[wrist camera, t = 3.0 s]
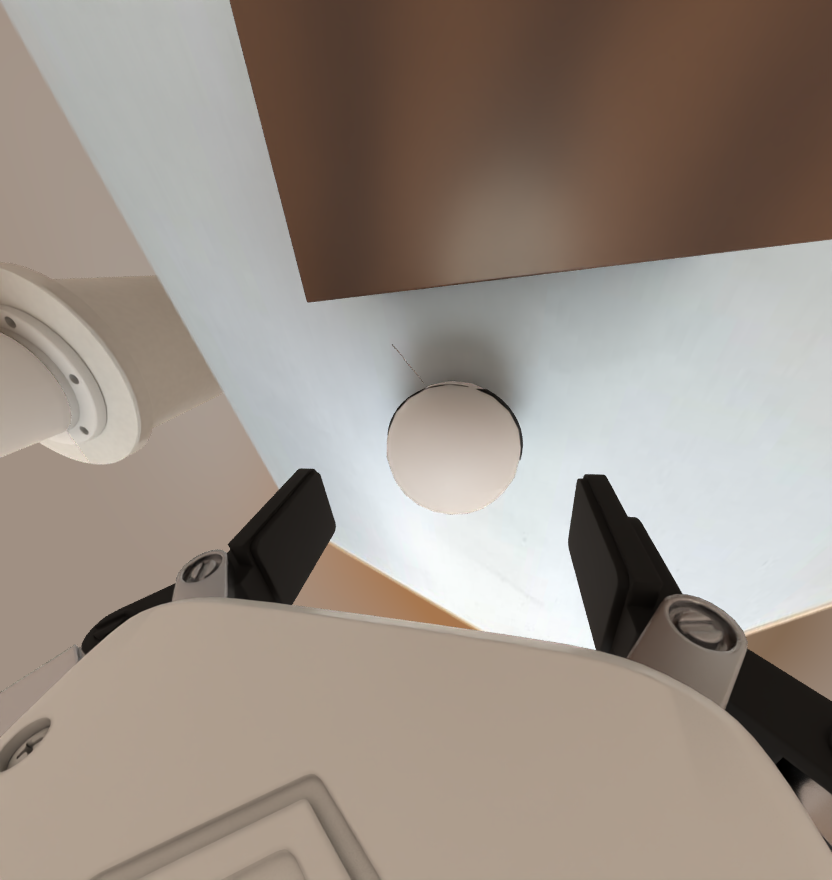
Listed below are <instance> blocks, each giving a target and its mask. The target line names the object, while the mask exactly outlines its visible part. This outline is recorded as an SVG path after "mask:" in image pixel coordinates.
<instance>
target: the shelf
mask: <svg viewBox="0 0 832 880" xmlns="http://www.w3.org/2000/svg"><path fill="white" fill-rule="evenodd" d="M230 4H231V8H232V12H233V16H234V20H235V24H236V28H237V32H238V35H239V39H240V43H241V47H242V51H243V55H244V59H245V63H246V67H247V70H248V74H249V78H250V82H251V86H252V90H253V94H254V98H255V102H256V105H257V109H258V113H259V117H260V121H261V125H262V129H263V133H264V137H265V140H266V144H267V148H268V152H269V156H270V160H271V164H272V168H273V172H274V175H275V179H276V183H277V187H278V191H279V195H280V199H281V203H282V207H283V210H284V214H285V218H286V222H287V226H288V230H289V234H290V238H291V242H292V246H293V249H294V253H295V257H296V261H297V265H298V269H299V273H300V277H301V281H302V284H303V288H304V292H305V296H306V300H307V302H308V303H309V302H317V301H326V300H334V299H342V298H351V297H359V296H367V295H375V294H384V293H392V292H400V291H409V290H417V289H425V288H433V287H442V286H450V285H458V284H467V283H475V282H483V281H491V280H500V279H508V278H516V277H525V276H533V275H541V274H549V273H558V272H566V271H574V270H583V269H591V268H599V267H607V266H616V265H624V264H632V263H641V262H649V261H657V260H666V259H674V258H682V257H690V256H699V255H707V254H715V253H724V252H732V251H740V250H748V249H757V248H765V247H773V246H782V245H790V244H798V243H806V242H815V241H823V240H831V239H832V0H230Z"/></svg>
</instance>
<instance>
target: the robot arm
mask: <svg viewBox="0 0 832 880" xmlns="http://www.w3.org/2000/svg"><path fill="white" fill-rule="evenodd" d="M106 420H107V413H106V405H105V401H104V397H103V395H102V392H101V390H100V388H99V385H98V383H97V382H96V380H95V378H94V376H93V375H92V373H91V371H90V370H89V369H88V367H87V366H86V364H85V363H84V362H83V360H82V359H81V358H80V357H79V355H78V354H77V353H76V352H75V351H74V350H73V349H72V348H71V346H70V345H69V344H68V343H66V342H65V341H64V340H63V339H62V338H61V337H60V336H59V335H58V334H57V333H56V332H54V331H53V330H52V329H50V328H49V327H48V326H46V325H45V324H44V323H42V322H41V321H39V320H37V319H36V318H34V317H32V316H30V315H29V314H27V313H25V312H23V311H20V310H18V309H16V308H13V307H10V306H6V305H2V304H0V457H3V456H5V455H8V454H10V453H13V452H15V451H17V450H20V449H23V448H25V447H28V446H30V445H33V444H35V443H38V442H40V441H43V440H45V439H49V440H52V441H55V442H59V443H63V444H71V445H75V444H82V443H85V442H87V441H89V440H92V439H94V438H96V437H97V436H99V435H100V434H101V433H102V431H103V430H104V428H105V424H106ZM335 528H336V524H335V520H334V517H333V514H332V511H331V508H330V504H329V501H328V498H327V495H326V492H325V488H324V485H323V482H322V479H321V476H320V474H319V473H317V472H316V470H315V469H298V470H297V471H296V472H295V473H294V474H293V475H292V477H291V478H290V479H289V480H288V481H287V482H286V483H285V484H284V485H283V486H282V487H281V488H280V489H279V490H278V491H277V492H276V494H275V495H274V496H273V497H272V498H271V499H270V500H269V501H268V502H267V503H266V504H265V505H264V507H262V508H261V510H260V511H259V512H258V513H257V514H256V515H255V516H254V517H253V518H252V519H251V520H250V521H249V522H248V523H247V525H246V526H245V527H244V528H243V529H242V530H241V531H240V532H239V533H238V534H237V535H236V536H235V537H234V539H232V540H231V541H230V543H229V544H228V545H229V547H230V551H229V552H228V553H226V552H224V551H222V550H211V551H208V552H204V553H202V554H200V555H198V556H196V557H195V558H193V559H192V560H190V561H189V562H188V563H187V564H186V565H184V566H183V568H182V569H181V570H180V572H179V573H178V576H177V578H176V583H175V584H173V585H171V586H168V587H166V588H164V589H162V590H160V591H158V592H156V593H153V594H152V595H149V596H147V597H145V598H143V599H140V600H138V601H136V602H134V603H132V604H130V605H128V606H125V607H123V608H121V609H119V610H117V611H115V612H113V613H111V614H109V615H108V616H106V617H105V618H103V619H102V620H101V621H100V622H99V623H98V624H97V625H95V626H94V627H93V628H92V629H91V630H90V632H89V633H88V634H87V635H86V637H85V639H84V641H83V643H82V646H81V647H77V646H76V645H73V646H72V647H70V648H69V649H67V650H66V651H64V652H63V653H61V654H59V655H58V656H56V657H55V658H53V659H51V660H50V661H48V662H47V663H45V664H44V665H42V666H41V667H39V668H37V669H36V670H34V671H33V672H31V673H30V674H28V675H26V676H25V677H23V678H22V679H20V680H19V681H17V682H15V683H14V684H12V685H11V686H9V687H8V688H6V689H5V690H3V691H1V692H0V880H832V701H830V700H829V699H827V698H825V697H824V696H822V695H821V694H819V693H817V692H816V691H814V690H813V689H811V688H809V687H808V686H806V685H805V684H803V683H802V682H800V681H798V680H797V679H795V678H793V677H792V676H790V675H789V674H787V673H786V672H784V671H782V670H781V669H779V668H778V667H776V666H774V665H773V664H771V663H770V662H768V661H766V660H765V659H763V658H762V657H760V656H758V655H757V654H755V653H754V652H752V651H750V650H748V649H747V639H746V637H745V634H744V632H743V630H742V629H741V628H740V626H739V625H738V624H737V622H736V621H735V620H734V619H733V618H732V617H730V616H729V615H728V614H727V613H726V612H725V611H723V610H722V609H720V608H719V607H717V606H715V605H714V604H712V603H710V602H708V601H706V600H703V599H701V598H699V597H695V596H691V595H687V594H682V592H681V591H680V589H679V587H678V585H677V584H676V582H675V580H674V578H673V577H672V575H671V573H670V571H669V570H668V568H667V566H666V564H665V563H664V561H663V559H662V558H661V556H660V554H659V552H658V551H657V549H656V547H655V545H654V544H653V542H652V540H651V538H650V537H649V535H648V533H647V531H646V530H645V528H644V526H643V524H642V523H641V521H640V520H639V519H638V518H636V517H628V516H627V514H626V512H625V511H624V509H623V507H622V505H621V503H620V501H619V499H618V498H617V496H616V494H615V492H614V490H613V488H612V486H611V484H610V483H609V481H608V479H607V477H606V476H605V475H595V474H585V475H584V477H583V479H578V480H577V484H576V491H575V497H574V504H573V511H572V518H571V524H570V531H569V538H568V546H569V551H570V555H571V559H572V562H573V566H574V570H575V574H576V577H577V581H578V585H579V588H580V592H581V596H582V600H583V603H584V607H585V611H586V615H587V618H588V622H589V626H590V629H591V633H592V637H593V641H594V644H595V648H596V650H592V649H587V648H583V647H578V646H573V645H568V644H562V643H556V642H550V641H543V640H537V639H531V638H524V637H518V636H512V635H505V634H498V633H491V632H484V631H477V630H470V629H463V628H456V627H449V626H442V625H435V624H428V623H421V622H414V621H406V620H399V619H392V618H385V617H378V616H370V615H363V614H356V613H348V612H341V611H333V610H325V609H317V608H310V607H303V606H295V605H292V604H293V602H294V601H295V599H296V597H297V596H298V594H299V592H300V590H301V589H302V587H303V585H304V583H305V582H306V580H307V578H308V577H309V575H310V573H311V572H312V570H313V568H314V566H315V565H316V563H317V561H318V560H319V558H320V556H321V555H322V553H323V551H324V549H325V548H326V546H327V544H328V543H329V541H330V539H331V537H332V536H333V534H334V532H335Z"/></svg>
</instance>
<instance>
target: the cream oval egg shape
mask: <svg viewBox="0 0 832 880" xmlns="http://www.w3.org/2000/svg"><path fill="white" fill-rule="evenodd" d="M392 346H393V344H392ZM393 347H394V346H393ZM394 348H395V347H394ZM395 349H396V348H395ZM396 350H397V349H396ZM397 351H398V350H397ZM398 352H399V351H398ZM399 353H400V352H399ZM400 355H401V354H400ZM401 356H402V355H401ZM402 357H403V356H402ZM404 360H405V359H404ZM405 361H406V360H405ZM406 362H407V361H406ZM407 364H408V363H407ZM408 365H409V364H408ZM409 366H410V365H409ZM410 367H411V366H410ZM411 368H412V367H411ZM412 370H413V369H412ZM413 371H414V370H413ZM414 372H415V371H414ZM415 373H416V372H415ZM416 374H417V373H416ZM417 375H418V374H417ZM418 377H419V376H418ZM419 378H420V377H419ZM420 379H421V378H420ZM421 381H422V380H421ZM422 382H423V381H422ZM522 448H523V439H522V433H521V428H520V426H519V423H518V421H517V419H516V417H515V415H514V413H513V412H512V411H511V409H510V408H509V407H508V405H507V404H506V403H505V402H504V401H503V400H502V399H500V398H499V397H498V396H496V395H495V394H494V393H492V392H490V391H489V390H487V389H483V388H481V387H479V386H477V385H475V384H472V383H466V382H458V381H447V382H442V383H436V384H432V385H430V386H428V387H426V388H424V389H422V390H420V391H418V392H416V393H414V394H413V395H411V396H410V397H408V398H407V399H406V400H405V401H404V402H403V403H402V404H401V405H400V406H399V407H398V408H397V410H396V412H395V413H394V415H393V417H392V419H391V421H390V425H389V428H388V438H387V459H388V462H389V465H390V468H391V471H392V474H393V476H394V479H395V481H396V483H397V484H398V486H399V487H400V488H401V490H402V491H403V492H404V494H405V495H406V496H408V497H409V498H410V499H411V500H413V501H414V502H415V503H416V504H418V505H420V506H422V507H424V508H427V509H429V510H431V511H433V512H438V513H444V514H450V515H453V514H468V513H471V512H474V511H477V510H480V509H483V508H485V507H486V506H488V505H489V504H490V503H492V502H493V501H495V500H496V499H497V498H498V497H499V496H500V495H501V494H502V493H503V492H504V491H505V490H506V488H507V487H508V486H509V484H510V483H511V482H512V480H513V479H514V477H515V474H516V470H517V467H518V463H519V460H520V459H521V455H522Z"/></svg>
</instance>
